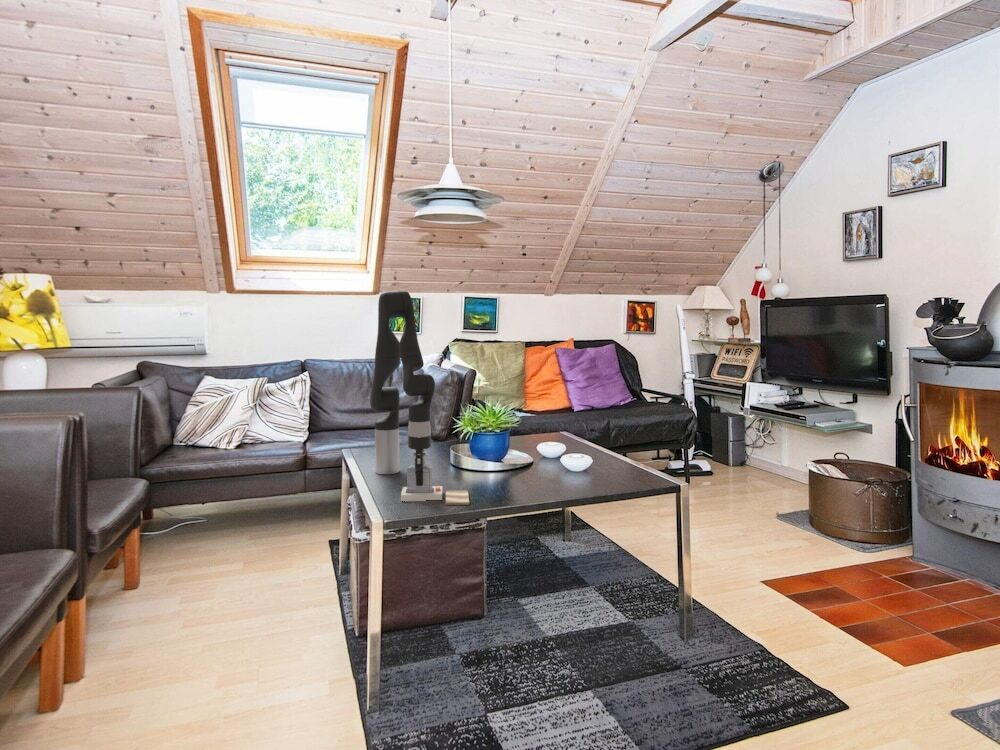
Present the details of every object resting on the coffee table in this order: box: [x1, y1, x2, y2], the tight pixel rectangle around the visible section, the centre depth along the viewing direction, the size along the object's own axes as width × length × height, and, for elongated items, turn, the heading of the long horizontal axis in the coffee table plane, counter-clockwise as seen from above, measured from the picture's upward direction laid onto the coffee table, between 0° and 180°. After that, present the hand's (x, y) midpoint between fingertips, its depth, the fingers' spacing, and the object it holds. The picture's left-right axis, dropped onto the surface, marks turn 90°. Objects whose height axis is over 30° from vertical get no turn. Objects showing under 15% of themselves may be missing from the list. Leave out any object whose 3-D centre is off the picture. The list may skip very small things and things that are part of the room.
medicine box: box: [406, 464, 433, 493], centre depth 218 cm, size 8×4×9 cm, turn 90°
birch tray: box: [445, 489, 470, 506], centre depth 216 cm, size 14×8×1 cm, turn 5°
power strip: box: [400, 483, 443, 502], centre depth 223 cm, size 18×14×3 cm
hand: (419, 483), depth 218 cm, fingers closed on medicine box, 4 cm apart
